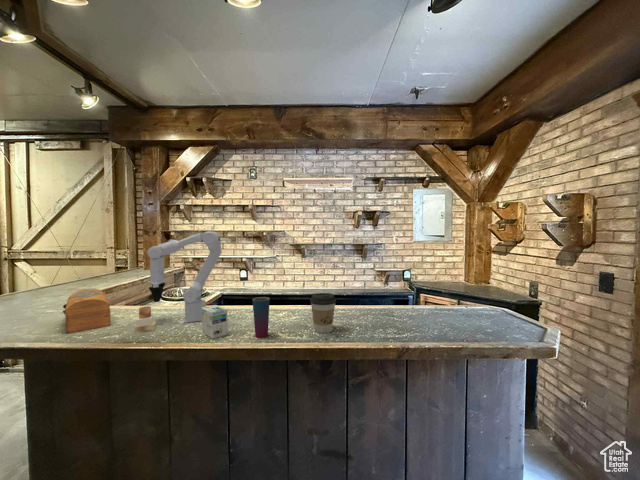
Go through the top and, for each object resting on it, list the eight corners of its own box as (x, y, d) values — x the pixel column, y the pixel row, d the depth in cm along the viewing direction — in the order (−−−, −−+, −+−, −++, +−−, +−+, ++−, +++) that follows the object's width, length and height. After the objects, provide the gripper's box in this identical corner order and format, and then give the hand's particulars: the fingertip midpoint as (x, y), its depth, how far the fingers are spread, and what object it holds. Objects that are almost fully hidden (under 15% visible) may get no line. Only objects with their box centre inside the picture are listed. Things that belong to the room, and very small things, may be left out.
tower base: (155, 326, 122) (155, 320, 122) (154, 331, 116) (154, 324, 116) (137, 329, 119) (137, 322, 119) (134, 334, 113) (134, 327, 113)
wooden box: (65, 318, 134) (64, 291, 134) (107, 312, 145) (106, 286, 145) (60, 335, 112) (59, 302, 111) (111, 326, 122) (110, 296, 122)
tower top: (153, 320, 121) (153, 314, 121) (152, 324, 116) (152, 317, 116) (137, 322, 118) (137, 316, 118) (135, 327, 113) (135, 320, 113)
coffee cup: (317, 337, 107) (317, 300, 107) (305, 328, 117) (305, 294, 117) (341, 332, 112) (341, 296, 112) (328, 324, 122) (328, 291, 122)
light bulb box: (228, 334, 111) (228, 308, 110) (212, 339, 106) (211, 312, 106) (217, 328, 118) (216, 304, 118) (201, 332, 113) (201, 307, 113)
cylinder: (152, 314, 120) (152, 305, 120) (149, 317, 116) (149, 308, 116) (140, 315, 118) (140, 306, 118) (137, 318, 114) (137, 309, 114)
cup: (266, 339, 105) (265, 301, 105) (250, 338, 107) (249, 300, 106) (272, 333, 112) (272, 297, 112) (257, 332, 113) (256, 296, 113)
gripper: (149, 270, 132) (150, 297, 132) (144, 274, 118) (145, 304, 119) (166, 269, 135) (166, 296, 135) (163, 273, 122) (163, 302, 122)
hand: (157, 300), depth 127 cm, fingers open, 7 cm apart
